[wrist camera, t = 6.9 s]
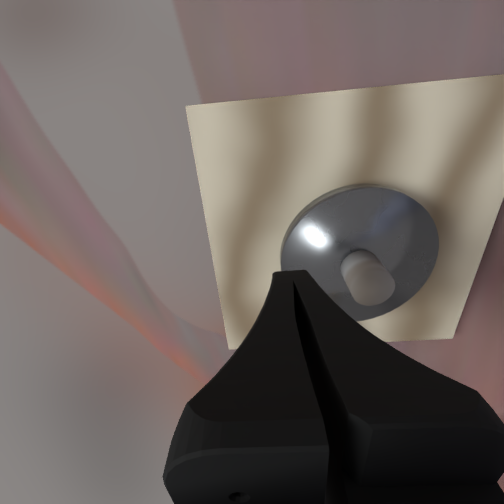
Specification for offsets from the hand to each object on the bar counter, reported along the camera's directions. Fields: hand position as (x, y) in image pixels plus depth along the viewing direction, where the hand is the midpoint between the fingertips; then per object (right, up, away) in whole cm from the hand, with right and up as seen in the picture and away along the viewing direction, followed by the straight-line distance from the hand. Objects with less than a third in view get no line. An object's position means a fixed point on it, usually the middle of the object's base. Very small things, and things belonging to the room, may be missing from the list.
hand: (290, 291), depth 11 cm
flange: (+5, 0, +9) cm, 10 cm away
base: (+5, +2, +10) cm, 11 cm away
